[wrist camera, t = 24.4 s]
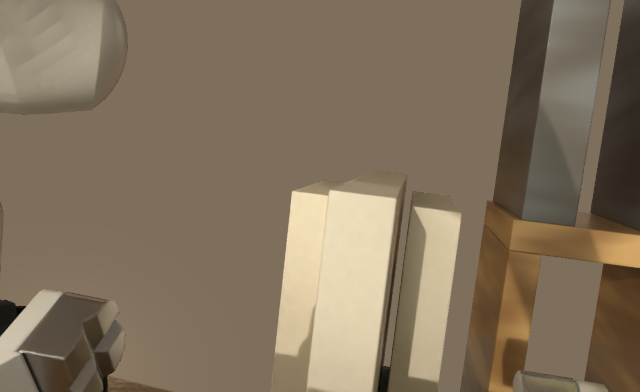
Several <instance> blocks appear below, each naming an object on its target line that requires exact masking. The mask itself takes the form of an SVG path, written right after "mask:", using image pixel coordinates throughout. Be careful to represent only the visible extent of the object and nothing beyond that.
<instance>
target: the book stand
mask: <svg viewBox="0 0 640 392" xmlns="http://www.w3.org/2000/svg"><path fill="white" fill-rule="evenodd" d="M610 2H611V0H522V1H521V8H520V15H519V23H518V29H517V36H516V44H515V50H514V58H513V64H512V72H511V78H510V86H509V92H508V100H507V106H506V113H505V121H504V128H503V135H502V141H501V148H500V155H499V162H498V169H497V176H496V183H495V190H494V197H493V201H487V206H486V213H485V220H484V223H485V224H484V227H483V234H482V241H481V248H480V255H479V262H478V270H477V277H476V283H475V291H474V298H473V305H472V312H471V319H470V326H469V333H468V340H467V347H466V354H465V361H464V368H463V375H462V382H461V389H460V392H513V380H514V377H515V374H516V373H517V371H518V370H522V371H524V366H525V360H526V353H527V347H528V340H529V333H530V327H531V321H532V314H533V308H534V301H535V295H536V288H537V282H538V275H539V269H540V262H541V255H546V256H554V257H561V258H569V259H575V260H583V261H591V262H597V263H604V265H603V270H602V277H601V282H600V289H599V295H598V301H597V307H596V313H595V319H594V325H593V331H592V337H591V343H590V349H589V355H588V361H587V367H586V373H585V380H584V381H587V382H593V383H599V384H604V385H605V386H606V388H607V389H608V392H640V0H625V1H624V7H623V13H622V19H621V25H620V32H619V38H618V44H617V50H616V56H615V63H614V69H613V75H612V82H611V88H610V94H609V100H608V106H607V113H606V119H605V125H604V131H603V137H602V144H601V150H600V156H599V162H598V168H597V174H596V181H595V187H594V193H593V200H592V205H591V213H585V212H577V210H578V204H579V198H580V192H581V185H582V179H583V173H584V166H585V160H586V154H587V147H588V141H589V135H590V129H591V122H592V116H593V110H594V102H595V97H596V90H597V84H598V78H599V72H600V66H601V59H602V53H603V46H604V40H605V34H606V28H607V21H608V15H609V9H610Z"/></svg>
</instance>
